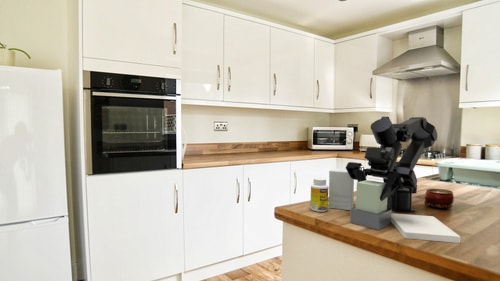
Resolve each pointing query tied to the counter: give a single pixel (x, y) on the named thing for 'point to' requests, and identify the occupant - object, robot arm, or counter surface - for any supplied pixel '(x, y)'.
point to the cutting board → (423, 228)
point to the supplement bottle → (319, 195)
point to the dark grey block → (371, 218)
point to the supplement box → (340, 189)
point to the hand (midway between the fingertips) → (369, 197)
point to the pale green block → (370, 196)
